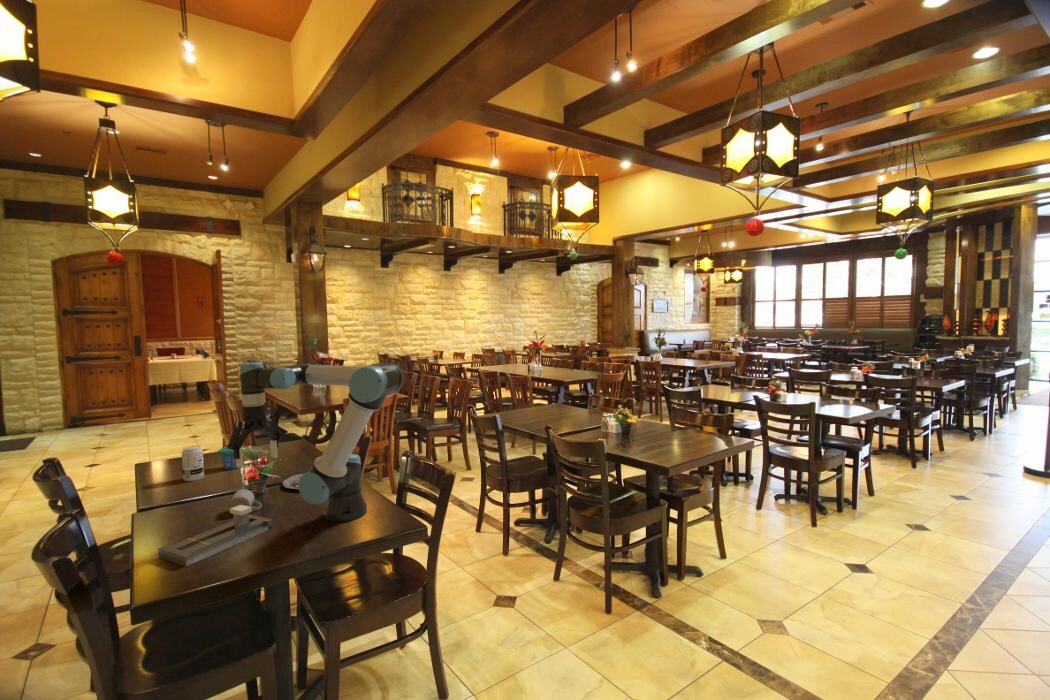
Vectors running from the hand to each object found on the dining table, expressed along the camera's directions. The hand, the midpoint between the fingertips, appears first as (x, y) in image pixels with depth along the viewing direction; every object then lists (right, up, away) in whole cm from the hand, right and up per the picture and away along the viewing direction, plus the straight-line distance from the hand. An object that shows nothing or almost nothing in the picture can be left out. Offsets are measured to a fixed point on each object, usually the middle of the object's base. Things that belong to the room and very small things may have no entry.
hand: (257, 462), depth 181 cm
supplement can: (-60, -20, +54) cm, 83 cm away
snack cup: (-52, -19, +71) cm, 90 cm away
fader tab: (-2, -21, -7) cm, 23 cm away
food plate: (+1, -20, +46) cm, 50 cm away
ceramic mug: (-12, -22, +14) cm, 29 cm away
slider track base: (-5, -24, -14) cm, 28 cm away
